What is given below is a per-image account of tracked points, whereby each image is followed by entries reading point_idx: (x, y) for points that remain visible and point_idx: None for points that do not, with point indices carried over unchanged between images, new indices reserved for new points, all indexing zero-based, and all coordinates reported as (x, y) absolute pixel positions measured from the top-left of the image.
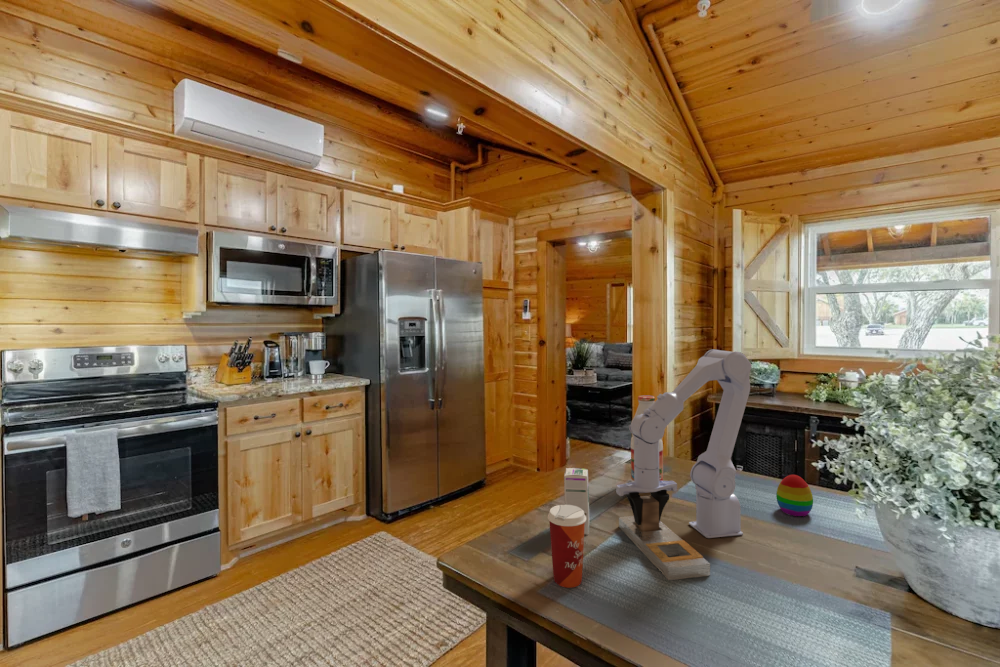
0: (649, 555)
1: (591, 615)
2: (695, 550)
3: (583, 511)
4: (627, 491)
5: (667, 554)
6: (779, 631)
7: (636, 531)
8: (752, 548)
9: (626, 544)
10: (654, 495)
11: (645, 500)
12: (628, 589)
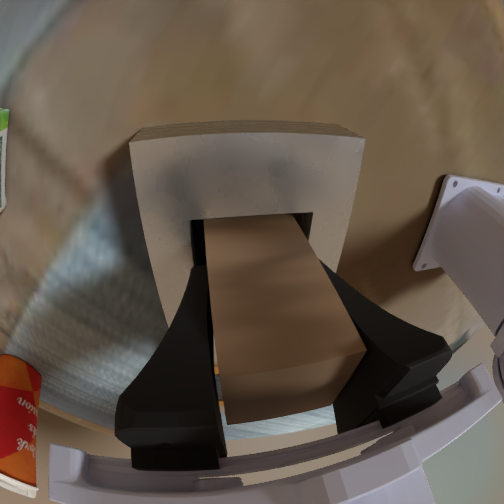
0: None
1: (71, 412)
2: None
3: (31, 497)
4: (133, 480)
5: None
6: (279, 425)
7: (177, 303)
8: (437, 301)
9: (134, 281)
10: (360, 391)
11: (266, 407)
12: (117, 398)
